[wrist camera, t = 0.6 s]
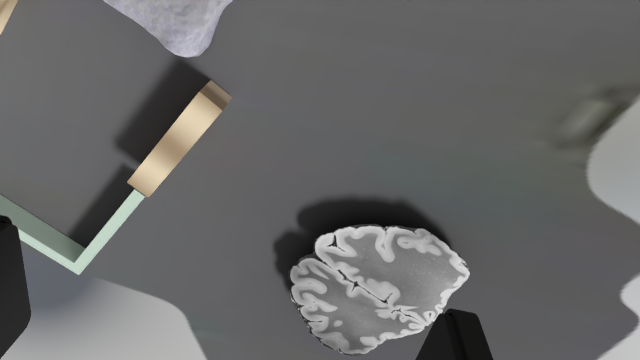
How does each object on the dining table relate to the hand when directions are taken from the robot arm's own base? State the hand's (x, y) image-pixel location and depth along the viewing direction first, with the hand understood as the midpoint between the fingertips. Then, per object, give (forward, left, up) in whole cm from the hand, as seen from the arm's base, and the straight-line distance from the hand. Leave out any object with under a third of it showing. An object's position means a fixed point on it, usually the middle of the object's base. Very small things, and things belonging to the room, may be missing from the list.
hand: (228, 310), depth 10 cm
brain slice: (+15, +21, -31) cm, 41 cm away
